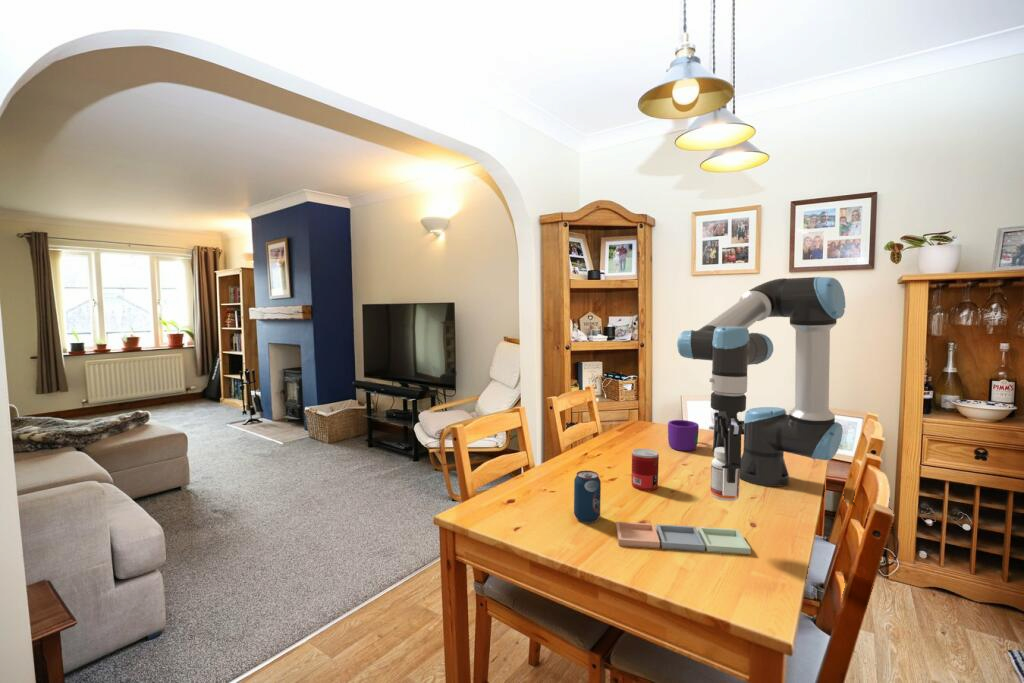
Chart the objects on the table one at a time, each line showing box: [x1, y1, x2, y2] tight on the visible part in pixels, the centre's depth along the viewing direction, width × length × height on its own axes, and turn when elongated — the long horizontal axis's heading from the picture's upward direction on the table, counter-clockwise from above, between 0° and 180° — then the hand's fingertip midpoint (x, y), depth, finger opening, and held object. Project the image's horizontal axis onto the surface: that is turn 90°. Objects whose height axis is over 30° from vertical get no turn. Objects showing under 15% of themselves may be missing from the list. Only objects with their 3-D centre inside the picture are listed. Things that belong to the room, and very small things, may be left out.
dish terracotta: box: [615, 521, 661, 549], centre depth 118 cm, size 9×9×2 cm
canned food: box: [631, 448, 660, 492], centre depth 150 cm, size 8×8×11 cm
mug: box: [667, 419, 699, 452], centre depth 193 cm, size 17×11×10 cm, turn 150°
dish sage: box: [697, 526, 752, 555], centre depth 115 cm, size 9×9×2 cm
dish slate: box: [655, 523, 706, 552], centre depth 117 cm, size 9×9×2 cm
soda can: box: [573, 470, 602, 524], centre depth 128 cm, size 7×7×12 cm
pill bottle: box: [710, 447, 741, 502], centre depth 114 cm, size 6×6×11 cm
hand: (724, 489), depth 114 cm, fingers closed on pill bottle, 6 cm apart
